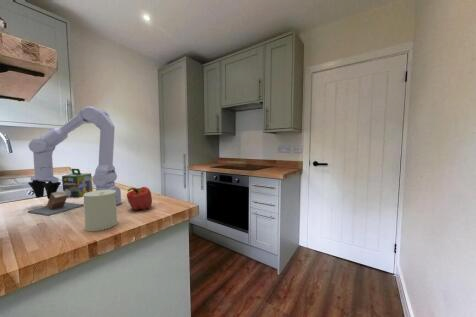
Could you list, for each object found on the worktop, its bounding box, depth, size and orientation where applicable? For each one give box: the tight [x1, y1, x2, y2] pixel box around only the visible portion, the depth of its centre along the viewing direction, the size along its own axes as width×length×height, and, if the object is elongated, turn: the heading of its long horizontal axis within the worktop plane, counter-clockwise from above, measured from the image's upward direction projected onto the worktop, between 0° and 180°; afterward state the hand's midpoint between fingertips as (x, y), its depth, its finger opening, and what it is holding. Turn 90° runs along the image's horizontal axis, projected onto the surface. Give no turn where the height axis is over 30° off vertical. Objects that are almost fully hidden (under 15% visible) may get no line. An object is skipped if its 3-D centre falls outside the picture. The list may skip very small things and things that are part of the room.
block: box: [46, 190, 68, 210], centre depth 83 cm, size 3×4×6 cm
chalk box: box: [61, 168, 94, 198], centre depth 106 cm, size 9×9×15 cm
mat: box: [26, 201, 84, 217], centre depth 84 cm, size 13×13×1 cm
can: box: [82, 190, 118, 232], centre depth 67 cm, size 9×9×12 cm
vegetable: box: [126, 186, 153, 211], centre depth 84 cm, size 11×10×10 cm
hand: (45, 197), depth 85 cm, fingers open, 7 cm apart
